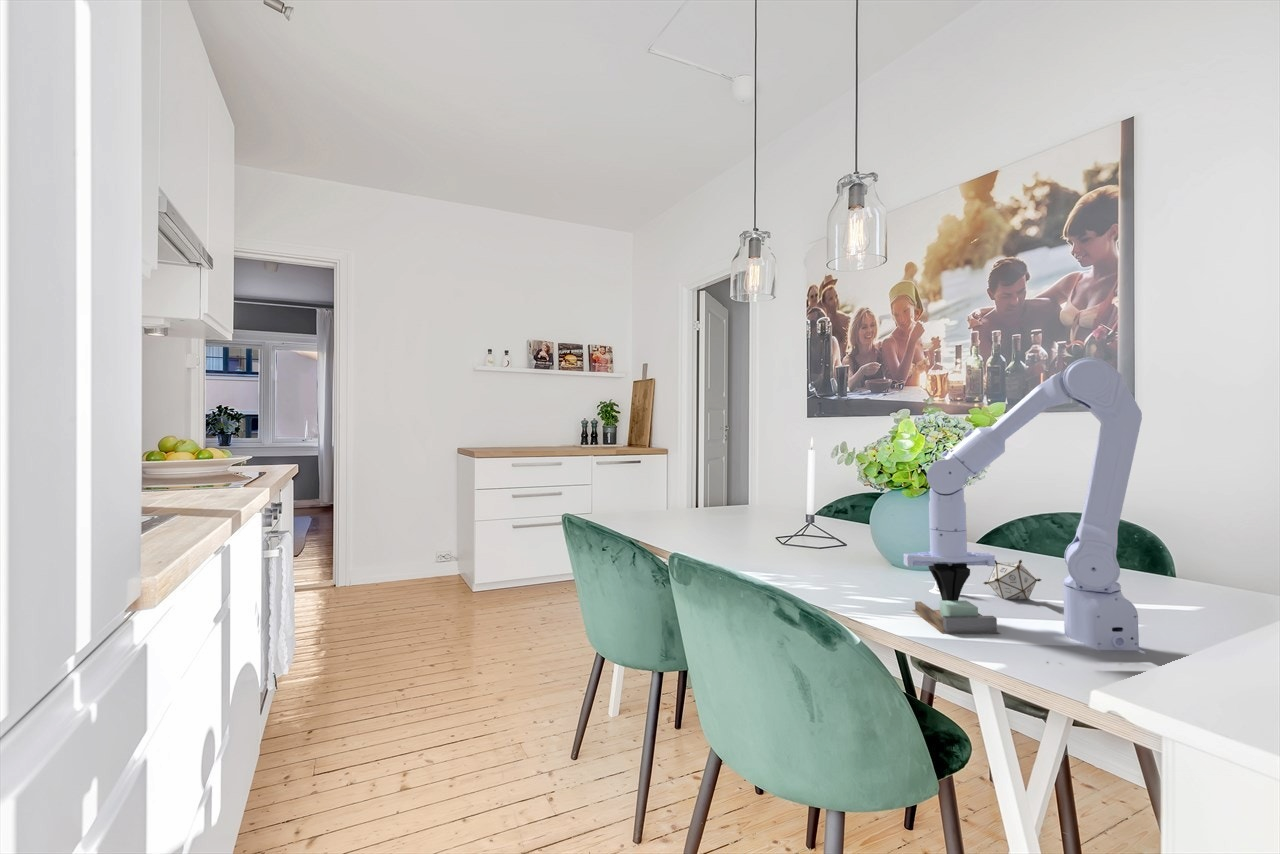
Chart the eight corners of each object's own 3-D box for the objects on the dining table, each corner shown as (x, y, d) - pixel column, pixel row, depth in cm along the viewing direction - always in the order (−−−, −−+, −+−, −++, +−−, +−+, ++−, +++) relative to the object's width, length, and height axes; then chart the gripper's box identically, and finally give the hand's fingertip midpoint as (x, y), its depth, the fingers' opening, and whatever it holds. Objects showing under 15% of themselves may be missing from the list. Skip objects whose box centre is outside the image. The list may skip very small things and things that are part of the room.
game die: (1014, 618, 119) (1033, 574, 121) (1037, 615, 111) (1056, 568, 113) (969, 594, 121) (989, 550, 124) (988, 589, 113) (1008, 543, 116)
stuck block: (978, 628, 99) (977, 607, 99) (950, 628, 99) (950, 607, 99) (966, 621, 103) (966, 600, 103) (940, 621, 103) (939, 600, 103)
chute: (1001, 640, 97) (1000, 618, 97) (942, 639, 97) (942, 618, 97) (963, 615, 110) (962, 595, 110) (912, 615, 110) (911, 596, 110)
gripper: (979, 524, 108) (981, 600, 108) (896, 525, 109) (898, 601, 109) (1000, 531, 101) (1002, 612, 101) (911, 532, 102) (913, 612, 102)
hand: (949, 607), depth 105 cm, fingers closed, pressing on stuck block
